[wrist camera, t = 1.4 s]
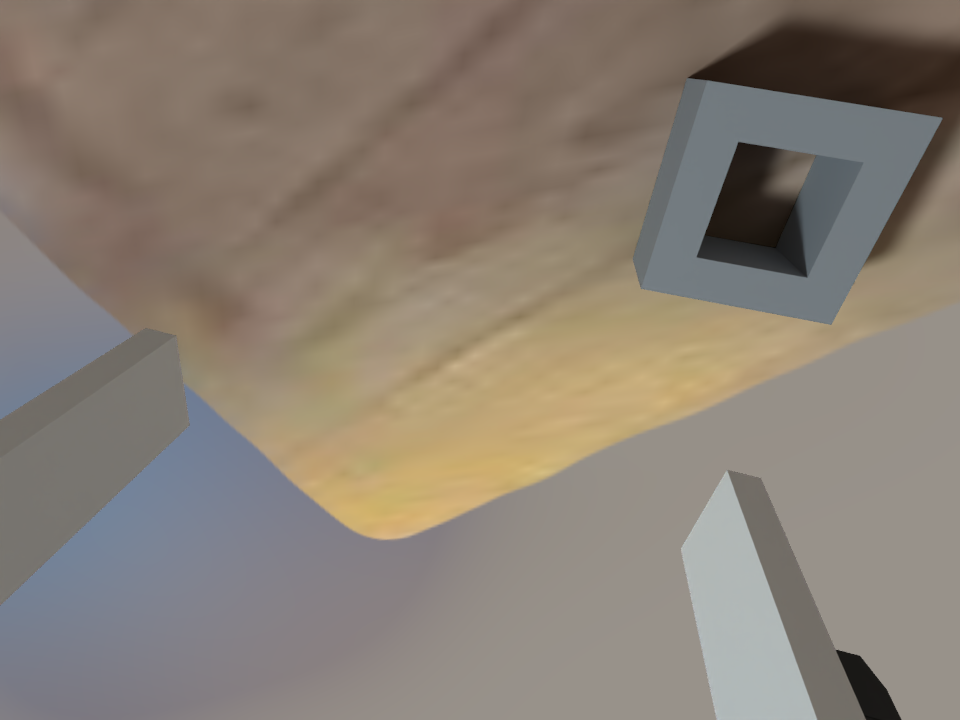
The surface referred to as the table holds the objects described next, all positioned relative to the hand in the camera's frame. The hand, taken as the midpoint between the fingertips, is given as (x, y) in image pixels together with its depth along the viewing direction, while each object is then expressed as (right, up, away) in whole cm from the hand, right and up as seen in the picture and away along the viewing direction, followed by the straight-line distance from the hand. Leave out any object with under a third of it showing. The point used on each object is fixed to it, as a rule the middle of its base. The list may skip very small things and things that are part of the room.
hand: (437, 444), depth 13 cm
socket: (+16, +12, +17) cm, 26 cm away
